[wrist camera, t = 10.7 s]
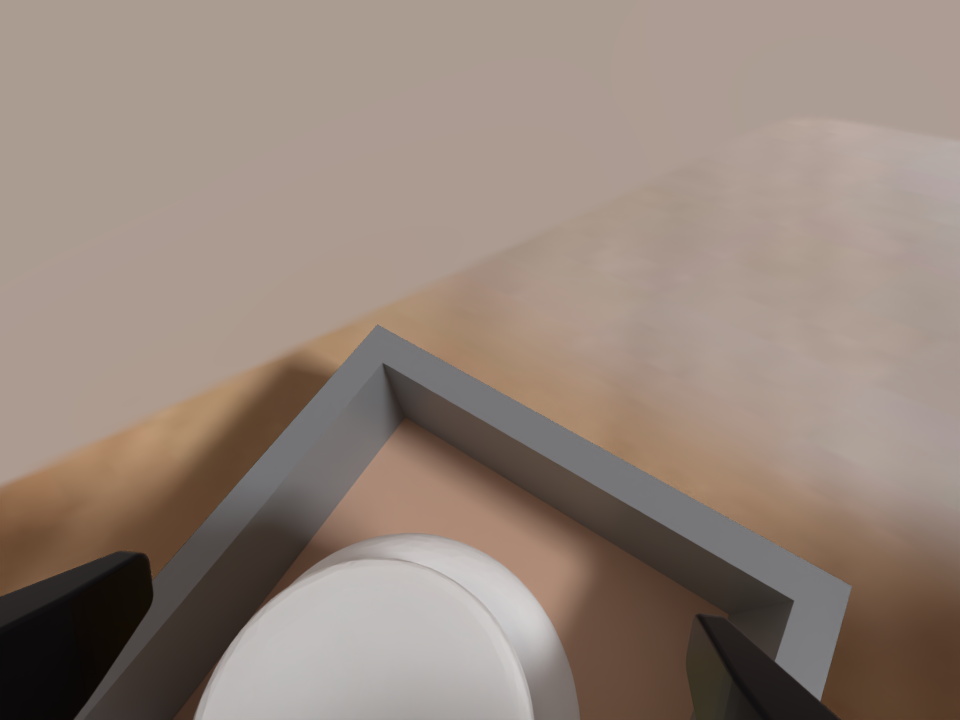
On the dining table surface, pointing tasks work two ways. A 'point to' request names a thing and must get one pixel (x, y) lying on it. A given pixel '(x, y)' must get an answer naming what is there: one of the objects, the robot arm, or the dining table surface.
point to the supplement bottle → (397, 642)
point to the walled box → (477, 542)
